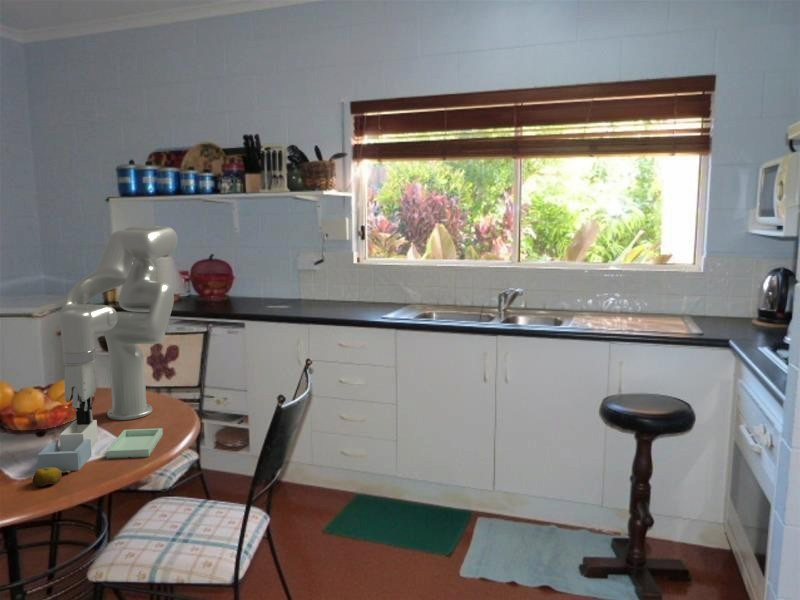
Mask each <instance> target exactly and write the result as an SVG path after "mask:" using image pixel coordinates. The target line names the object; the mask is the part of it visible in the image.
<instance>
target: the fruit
mask: <svg viewBox="0 0 800 600" xmlns="http://www.w3.org/2000/svg"><path fill="white" fill-rule="evenodd" d="M65 473H67V474H70V473H71V471H69V470H63V471H60V470H59V469H58V468H53V467H50V468H42V469H39V468H38V469H37V470H36V471H35V472H34V474H32V476H30V480H32V485H33V486H34V487H35V488H37V489H39V488H41V487H45V486H46V485H53V486H56V485H57V484H58V483H59V482H61V480H62V474H65Z"/></svg>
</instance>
